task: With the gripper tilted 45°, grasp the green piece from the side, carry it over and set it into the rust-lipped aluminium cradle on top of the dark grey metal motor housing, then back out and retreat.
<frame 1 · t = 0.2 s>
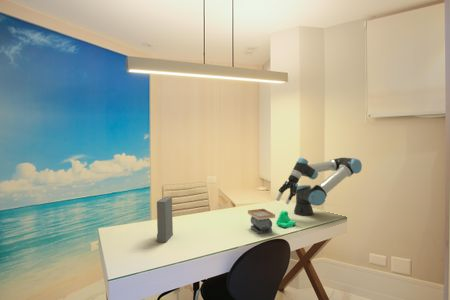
hand: (281, 202, 202), 15 cm above the table, tool tilted 35°, fingers open, 13 cm apart
grey upright slab: (165, 238, 173), on the table
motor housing: (261, 230, 185), on the table
green piece: (286, 226, 194), on the table
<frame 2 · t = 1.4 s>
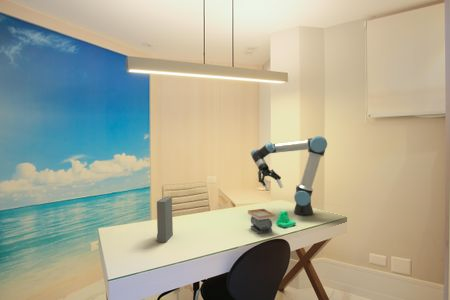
hand: (274, 187, 204), 25 cm above the table, tool tilted 45°, fingers open, 13 cm apart
nothing on the table moved.
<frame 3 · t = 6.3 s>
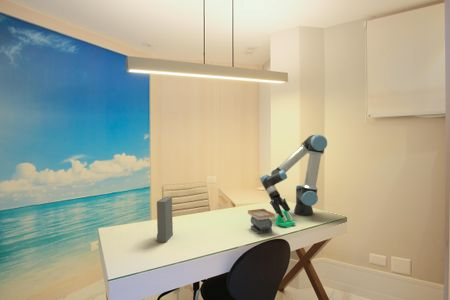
hand: (288, 220, 192), 4 cm above the table, tool tilted 45°, fingers closed on green piece, 4 cm apart
green piece: (285, 225, 195), on the table, touching gripper
everything else where it was.
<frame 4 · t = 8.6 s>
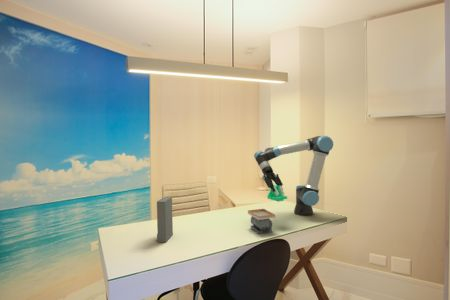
hand: (280, 194, 190), 23 cm above the table, tool tilted 45°, fingers closed on green piece, 4 cm apart
green piece: (277, 200, 193), point 18 cm above the table, touching gripper
everything else where it was.
when the fingers open (16 cm above the table, at t = 10.9 s): green piece stays where it is, resting on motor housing.
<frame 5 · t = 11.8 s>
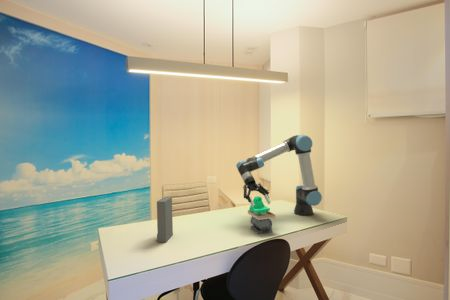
hand: (261, 204, 184), 18 cm above the table, tool tilted 45°, fingers open, 13 cm apart
green piece: (260, 212, 186), point 12 cm above the table, touching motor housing
everything else where it was.
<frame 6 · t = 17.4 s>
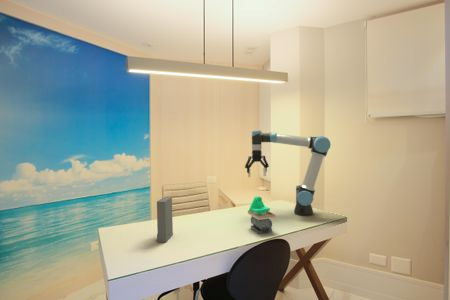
hand: (257, 176, 218), 32 cm above the table, tool pointing down, fingers open, 13 cm apart
nothing on the table moved.
at the end: green piece 1.1 cm off-centre on the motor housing, point 12.0 cm above the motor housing's base; green piece tilted 0°; the gripper is holding nothing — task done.
